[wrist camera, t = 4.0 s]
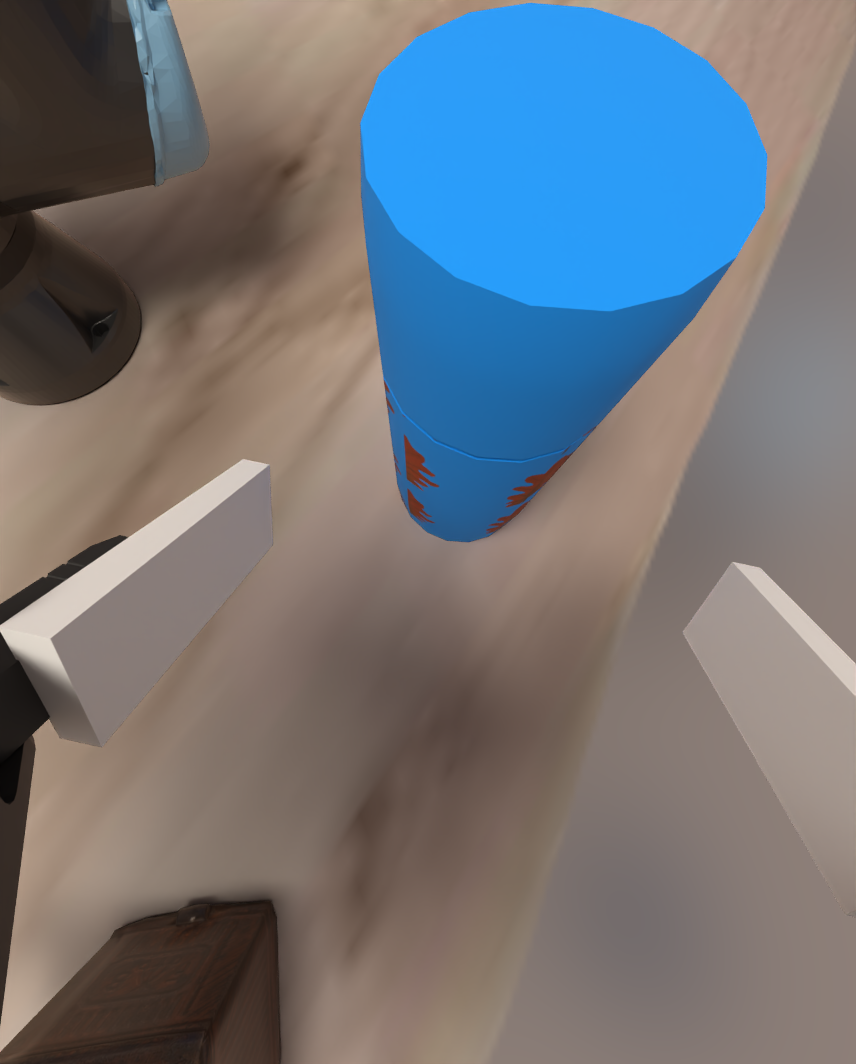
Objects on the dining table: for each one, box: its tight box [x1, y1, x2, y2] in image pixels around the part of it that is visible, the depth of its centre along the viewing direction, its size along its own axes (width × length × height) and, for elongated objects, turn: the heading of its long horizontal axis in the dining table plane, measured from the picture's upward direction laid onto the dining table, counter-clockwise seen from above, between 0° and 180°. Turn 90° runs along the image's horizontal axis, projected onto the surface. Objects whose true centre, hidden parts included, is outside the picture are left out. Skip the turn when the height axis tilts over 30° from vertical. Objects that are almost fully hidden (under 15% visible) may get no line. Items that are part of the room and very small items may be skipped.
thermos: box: [360, 3, 767, 542], centre depth 22 cm, size 11×11×25 cm
